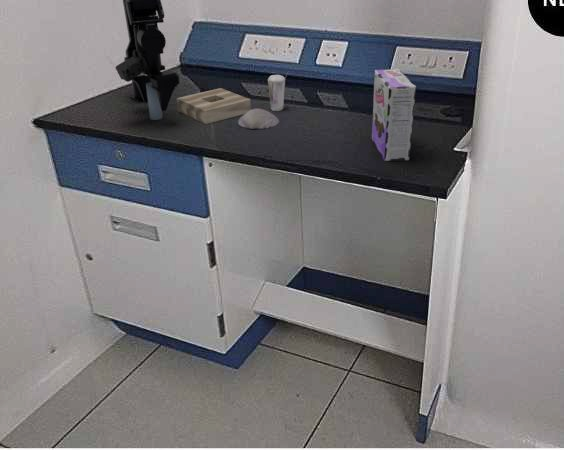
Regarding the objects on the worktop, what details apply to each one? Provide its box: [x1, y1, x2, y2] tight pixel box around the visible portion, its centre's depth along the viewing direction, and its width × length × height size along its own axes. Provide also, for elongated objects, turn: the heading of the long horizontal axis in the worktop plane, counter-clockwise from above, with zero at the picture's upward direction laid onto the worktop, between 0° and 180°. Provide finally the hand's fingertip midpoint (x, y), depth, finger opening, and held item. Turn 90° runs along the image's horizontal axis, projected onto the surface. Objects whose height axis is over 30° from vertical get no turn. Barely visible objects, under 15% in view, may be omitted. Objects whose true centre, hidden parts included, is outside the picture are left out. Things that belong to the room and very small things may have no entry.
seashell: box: [237, 108, 280, 130], centre depth 158 cm, size 10×6×10 cm
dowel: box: [146, 82, 163, 121], centre depth 161 cm, size 3×3×9 cm
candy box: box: [371, 68, 417, 162], centre depth 137 cm, size 14×6×16 cm, turn 5°
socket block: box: [176, 87, 252, 125], centre depth 166 cm, size 14×14×4 cm
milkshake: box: [267, 72, 289, 112], centre depth 165 cm, size 5×5×10 cm
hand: (155, 106), depth 162 cm, fingers open, 9 cm apart
